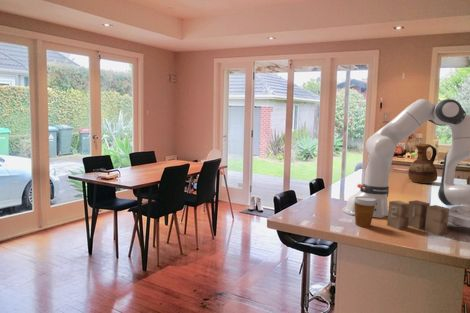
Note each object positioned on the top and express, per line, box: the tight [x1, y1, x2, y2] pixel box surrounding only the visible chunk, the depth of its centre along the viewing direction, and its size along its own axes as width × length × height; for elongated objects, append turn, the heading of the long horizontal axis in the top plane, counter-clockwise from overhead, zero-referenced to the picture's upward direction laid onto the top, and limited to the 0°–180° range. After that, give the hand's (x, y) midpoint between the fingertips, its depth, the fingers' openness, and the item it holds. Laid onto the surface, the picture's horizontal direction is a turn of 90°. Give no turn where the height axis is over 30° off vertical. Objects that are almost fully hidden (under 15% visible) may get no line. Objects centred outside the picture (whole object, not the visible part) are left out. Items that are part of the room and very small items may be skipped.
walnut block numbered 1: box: [408, 200, 431, 230], centre depth 167 cm, size 6×6×11 cm
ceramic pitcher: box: [407, 143, 438, 184], centre depth 287 cm, size 20×20×30 cm
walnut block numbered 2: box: [386, 200, 410, 230], centre depth 164 cm, size 6×6×11 cm
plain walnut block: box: [424, 204, 450, 236], centre depth 159 cm, size 6×6×11 cm
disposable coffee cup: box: [354, 196, 376, 228], centre depth 164 cm, size 10×10×12 cm
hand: (441, 219), depth 160 cm, fingers closed
